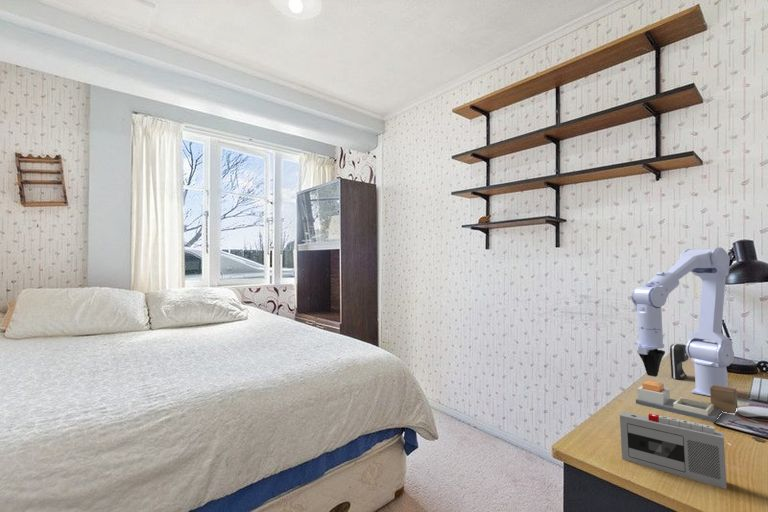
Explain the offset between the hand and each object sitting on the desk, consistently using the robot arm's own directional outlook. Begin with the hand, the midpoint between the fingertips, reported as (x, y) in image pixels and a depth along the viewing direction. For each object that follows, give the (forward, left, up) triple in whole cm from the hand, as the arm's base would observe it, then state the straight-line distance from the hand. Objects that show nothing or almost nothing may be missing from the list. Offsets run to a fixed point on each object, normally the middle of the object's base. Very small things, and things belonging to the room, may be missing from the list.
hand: (652, 375), depth 103 cm
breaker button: (0, 0, -5) cm, 5 cm away
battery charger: (-33, -1, -8) cm, 34 cm away
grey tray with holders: (0, +5, -8) cm, 9 cm away
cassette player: (+37, +13, -8) cm, 40 cm away
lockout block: (-7, +14, -8) cm, 17 cm away
